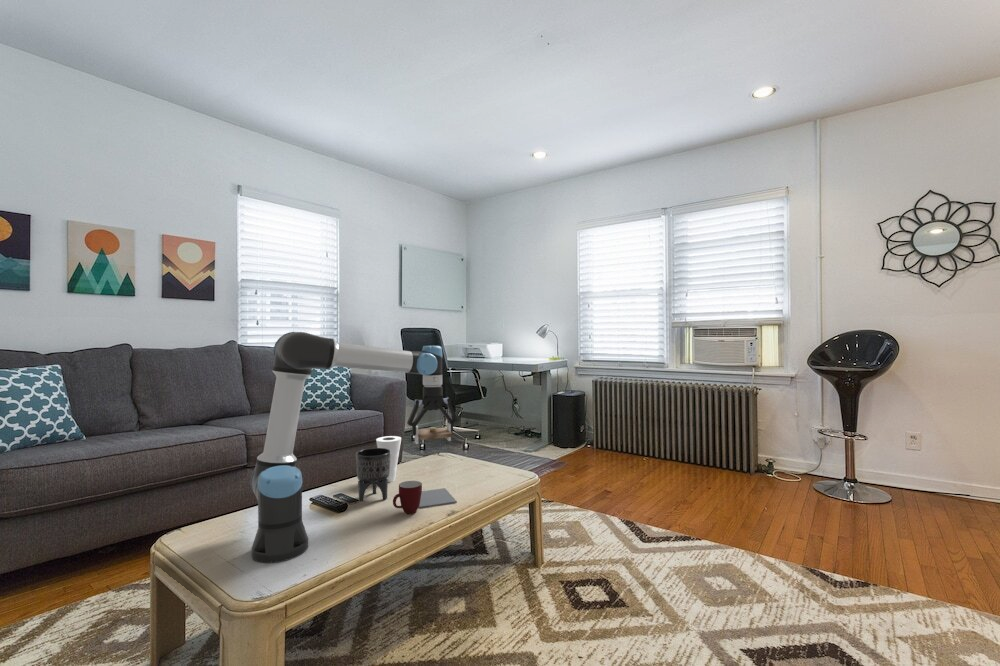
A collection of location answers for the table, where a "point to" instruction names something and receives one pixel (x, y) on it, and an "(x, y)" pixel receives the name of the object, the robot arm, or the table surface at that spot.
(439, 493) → the mat
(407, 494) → the mug
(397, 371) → the robot arm
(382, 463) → the planter
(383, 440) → the paper towel roll
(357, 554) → the table surface
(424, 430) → the lid
